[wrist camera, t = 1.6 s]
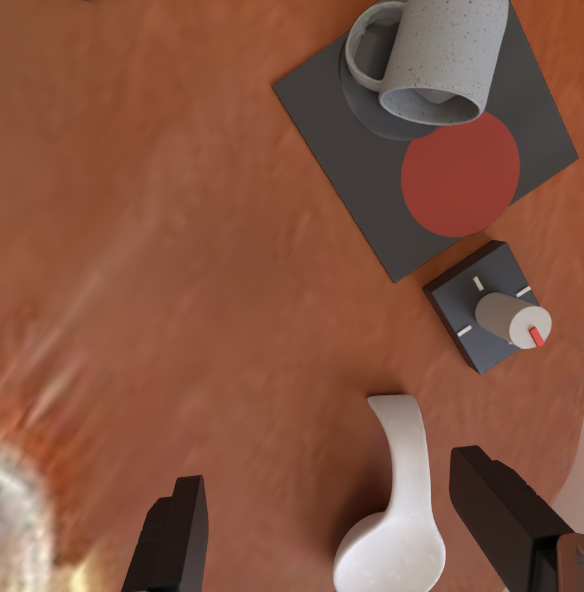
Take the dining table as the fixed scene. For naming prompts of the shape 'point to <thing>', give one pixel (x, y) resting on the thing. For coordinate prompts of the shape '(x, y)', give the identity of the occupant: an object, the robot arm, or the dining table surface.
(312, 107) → the hob
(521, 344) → the hob knob
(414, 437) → the spoon rest
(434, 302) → the control box
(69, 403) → the dining table surface
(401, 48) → the ceramic mug
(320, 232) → the dining table surface
